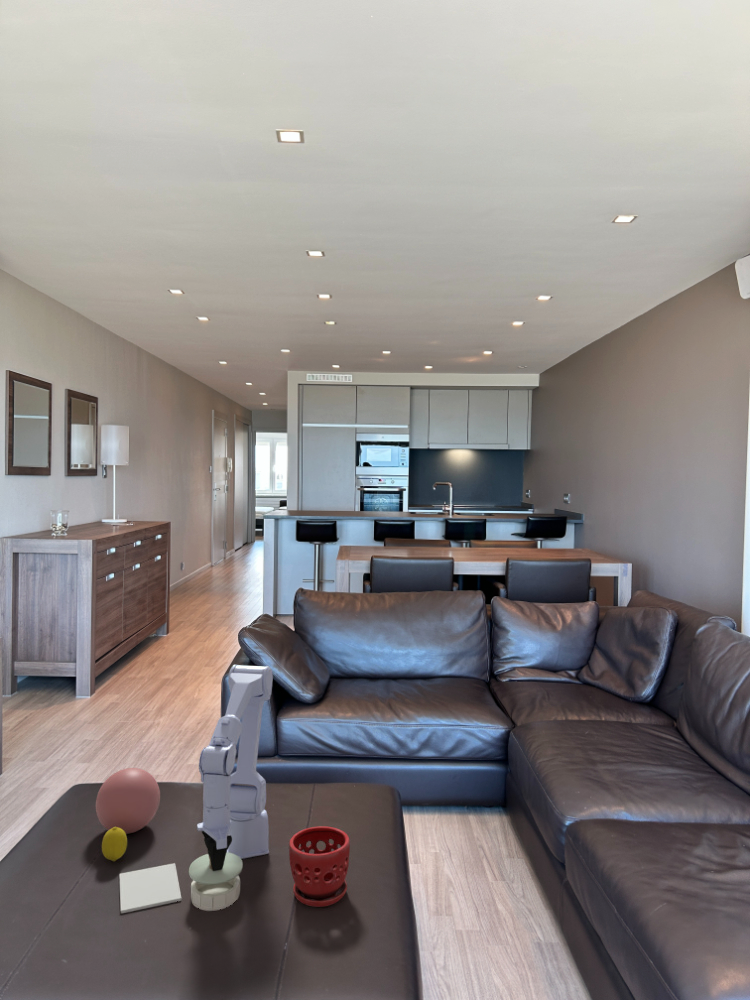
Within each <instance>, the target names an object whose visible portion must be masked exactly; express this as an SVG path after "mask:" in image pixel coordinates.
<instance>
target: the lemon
mask: <svg viewBox="0 0 750 1000" xmlns="http://www.w3.org/2000/svg"><path fill="white" fill-rule="evenodd" d="M127 837H128V836H127V834H126V833H125V832H124V830H122V829H121V828H118V827H113V828H112V829H110V830H107V831H106V832H105V834H104V835H103V838H102V842H101V852H102V855H103V856H104V857H105V859H107V860H109V861H112V862H116V861H117V860H119V859H120V858H122V857H123V855H124V854H125V853H126V850H127V848H128V838H127Z"/></svg>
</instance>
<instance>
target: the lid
mask: <svg viewBox="0 0 750 1000" xmlns="http://www.w3.org/2000/svg"><path fill="white" fill-rule="evenodd" d="M243 862H244V861H243V860H242V859H241V858H240V857H239V856H237V855H235V854H233V853H229V852H227V853H226V856H225V861H224V865H223V869H222V870H217V871H213V870H212V867H211V862H210V855H208V853H206V854H204V855H200V856H199V857H197V858H196V859H194V860H193V861H192V862H191V863H190V866H189V868H188V875H189V877H190V879H191V880H192V881H193V880H194V881H195V882H198V883H201V884H208V885H213V884H220V883H224V882H227V881H230V880H232V879H233V878H235V877H236V876H239V875H240V873H241V872H242V871H243V866H244V865H243Z"/></svg>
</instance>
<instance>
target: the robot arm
mask: <svg viewBox="0 0 750 1000" xmlns="http://www.w3.org/2000/svg"><path fill="white" fill-rule="evenodd" d="M273 678H274V676H273V670H272V668H271V667H270V666H269V665H266V666H259V665H242V664H241V665H239V664H233V665H232V666H231V668H230V670H229V673H228V679H227V680H228V681H227V682H228V687H229V692H230V697H229V700H228V703H227V707H226V712H225V715H224V716H220V718H219V719H218V720H217V722H216V726H215V728H214V730H213V733H212V736H211V739H210V741H209V744H208V745H206V747H203V748H202V750H201V752H200V755H199V759H198V770H199V771H198V772H199V774H200V782H201V783H202V784H203V785H202V787H203V789H202V805H203V806H202V822H199V823H197V825H196V829H197V831H198V832H201V833H202V835H203V837H204V839H203V841H204V842H203V843H204V845H205V847H206V849H207V854H208V855H210V862H211V867H212V870H213V871H217V870H222V869H223V865H224V861H225V856H226V853H227V852H229V853H233V854H235V855H237V856H239V857H240V858H241V860H242V859H243V860H244V859H248V858H252V857H253V858H254V857H257V856H263V855H267V854H269V853H270V851H269V834H270V833H269V830H270V829H269V828H270V827H269V826H270V825H269V817H268V813H267V810H266V809H265V807H266V803H267V783H266V782H267V781H266V779H265V778H264V777H263V776H262V775H261V774H260V773H259V772H258V771H257V763H258V755H259V745H260V735H261V726H262V715H263V708H264V704H265V702H267V701H269V700H270V699H271V695H272V690H273ZM238 742H239V744H238ZM237 745H238V752H237V749H236V748H237ZM237 753H238V754H237ZM236 757H237V762H236V769H235V770H236V771H234V767H235V761H236ZM233 771H234V772H233Z"/></svg>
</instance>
